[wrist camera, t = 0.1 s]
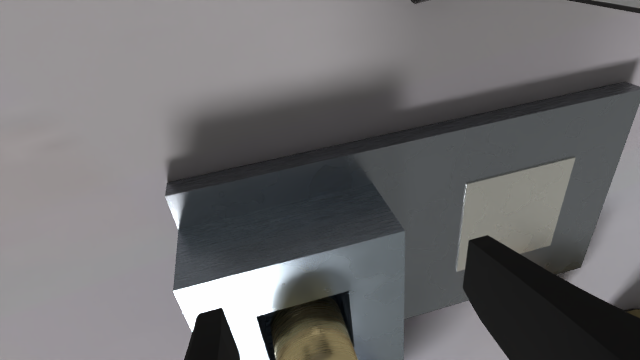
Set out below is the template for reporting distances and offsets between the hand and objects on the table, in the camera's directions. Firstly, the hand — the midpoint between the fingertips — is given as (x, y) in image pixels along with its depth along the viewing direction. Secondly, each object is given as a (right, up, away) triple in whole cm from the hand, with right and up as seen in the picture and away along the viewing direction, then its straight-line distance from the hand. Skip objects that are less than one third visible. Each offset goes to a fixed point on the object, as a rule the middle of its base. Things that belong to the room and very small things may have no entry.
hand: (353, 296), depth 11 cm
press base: (+5, 0, +13) cm, 14 cm away
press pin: (-2, -4, +9) cm, 10 cm away
